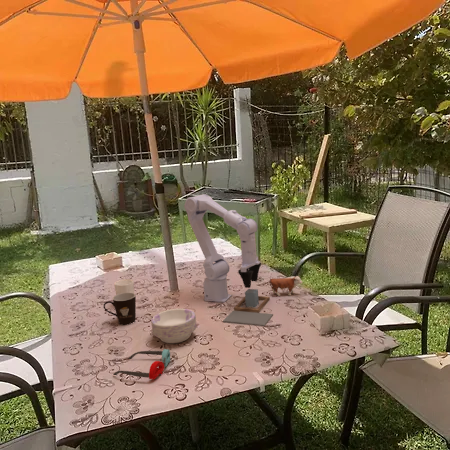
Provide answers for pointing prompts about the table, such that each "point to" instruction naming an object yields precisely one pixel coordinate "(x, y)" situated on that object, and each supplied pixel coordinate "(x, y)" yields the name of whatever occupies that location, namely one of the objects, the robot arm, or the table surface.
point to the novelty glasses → (154, 368)
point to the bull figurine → (284, 284)
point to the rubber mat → (248, 318)
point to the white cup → (124, 286)
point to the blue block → (251, 298)
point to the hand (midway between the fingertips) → (251, 284)
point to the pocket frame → (239, 308)
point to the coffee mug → (124, 307)
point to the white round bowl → (174, 325)
